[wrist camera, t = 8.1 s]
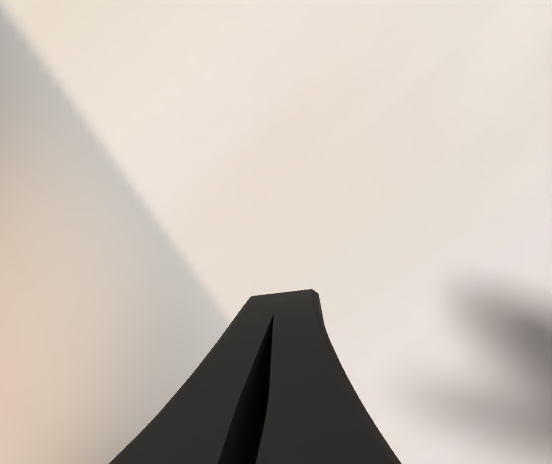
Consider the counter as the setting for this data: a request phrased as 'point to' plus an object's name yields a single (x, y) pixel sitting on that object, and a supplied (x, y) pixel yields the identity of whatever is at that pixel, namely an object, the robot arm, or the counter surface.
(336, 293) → the counter surface
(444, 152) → the counter surface
